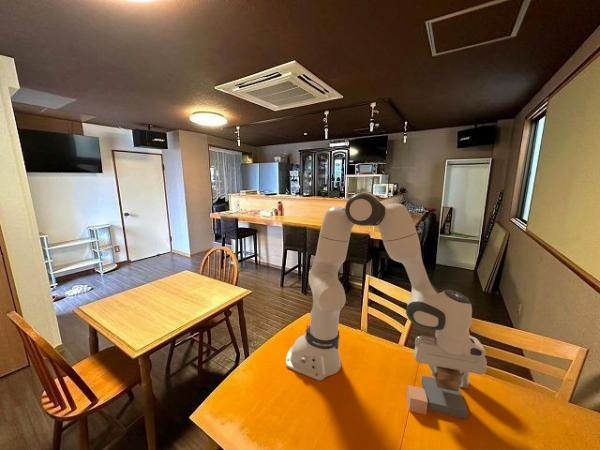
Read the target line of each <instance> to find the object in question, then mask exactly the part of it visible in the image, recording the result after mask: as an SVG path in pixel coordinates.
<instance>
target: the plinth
mask: <svg viewBox="0 0 600 450" xmlns="http://www.w3.org/2000/svg"><path fill="white" fill-rule="evenodd" d="M421 385H422V387H421V388H423V389H425V393H426V397H427V401H428V404H427V411H432V412H436V413H440V414H444V415H448V416H452V417H456V418H460V419H465V420H468V415H469V409H468V407H467V405H466V402H465V400H464V398H463V394H462V393H461V390H460V389H459V391H458V392H456V391H451V390H446V389H442V388H437V384H436V381H435V378H434V377H433V376H432V377H431V376H426V375H421Z"/></svg>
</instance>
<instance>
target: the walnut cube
mask: <svg viewBox="0 0 600 450" xmlns="http://www.w3.org/2000/svg"><path fill="white" fill-rule="evenodd" d="M434 368H435V369H436V371H437V376H433V378H435V381H436V384H437V388H442V389H446V390H451V391H456V392H458V391H459V390H460V387H459V385H460V378H461V375H460V373H459V371H458V370H455V369H449V368H444V367H439V366H434Z"/></svg>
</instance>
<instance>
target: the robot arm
mask: <svg viewBox="0 0 600 450" xmlns="http://www.w3.org/2000/svg"><path fill="white" fill-rule="evenodd" d="M355 225H357V226H360V227H370V226H371V227H377V229H378V231H379V233H380V236H381V239H382V243H383V246H384V248H385V251H386V252H387V254H388V256H389V258H390V259H392V260H393V261H395V262H398V263H400V264H402V265H403V267H404V269H405V271H406V273H407V276H408V279H409V282H410V286H411V291H410V296H409V299H408V302H407V305H406V309H405V313H406V316H407V319H408V320H409V321H410V322H411V323H412V324H413V325H415V326H416V327H419V328H422V329H426V330H433V331H435V333H434V334H435V336H425V335H420V336H416V337H415V339H414V345H415V347H414V350H413V356H414V360H415V361H416V362H417V363H419V364H423V365H428V367H429V369H430V375H431V376H432V377H434V376H437V371H436V369H435V368H434V366H439V367H444V368H449V369H455V370H460V372H459V373H460V375H461V378H460V381H462V379H463V377H465V376H466V375H467V374H468V372H470V374H477V375H481V376H482V375H484V374H486V372H487V368H488V367H487V366H488V364H487V363H488V362H487V361H488V360H487V358H486V357H485V356H486V354H487V351H486V349H485V348H484V345H483V344H482V343H481V341H480V340H479V339H478V338H476V337H474V336H472V335H469V329H470V327H471V325H472V317H473V308H472V307H473V306H472V303H471V301H470V299H469V298H468V297H467V296H465V295H464V294H463V293H461V292H458V291H455V290H452V289H446V290H443V291H441V292H440V291H438V289H437V288H436V287H435V286H434V284H433V283H432V282H431V280H430V278H429V275H428V273H427V269H426V267H425V264H424V262H423V257H422V249H421V242H420V238H419V234H418V231H417V229H416V225H415V223H414V221H413V218H412V217H411V214H410V213H409V210H408V209H407V207H406V206H405V205H403V204H402V203H397V202H396V203H395V202H394V203H388V204H383V203H381V202H380V200H379V198H378V197H377V196H376V195H375V194H374V193H372V192H369V191H359V192H357V193H355V194H353V195H351V196H350V197H349V198H348V200H347V201H346V204H345V206H333V207H330V208H328V209H327V210H326V212H325V214H324V216H323V219H322V222H321V225H320V226H321V227H320V231H319V237H318V241H317V247H316V253H315V256H314V259H313V262H312V265H311V268H310V269H309V272H308V284H309V287H310V290H311V295H312V309H311V310H310V321H309V322H308V323H307V325H306V330H305V332H304V334H303V335H301V336H299V337H297V338H296V340H295V341H294V343H293V345H292V346H291V347H290V348H289V350H288V352H287V354H286V357H285V366H286V368H288V369H290V370H293V371H295V372H298V373H300V374H303V375H304V376H307V377H309V378H312V379H314V380H317V381H323V380H324V379H325V378H326V377H329V376H333V375H335V374H337V373H338V372H339V371H340V370H341V367H342V360H341V356H340V350H339V346H340V339H341V337H340V331H339V323H340V321H339V320H340V313H341V309H343V307H344V305H345V304H346V302H347V301H346V300H347V297H346V296H347V295H346V293H345V289H344V286H343V285H342V283H341V281H340V280H339V271H340V269H341V266H342V264H343V263H345V262H346V258H347V255H348V249H349V243H350V238H351V233H352V229H353V228H354V226H355Z"/></svg>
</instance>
